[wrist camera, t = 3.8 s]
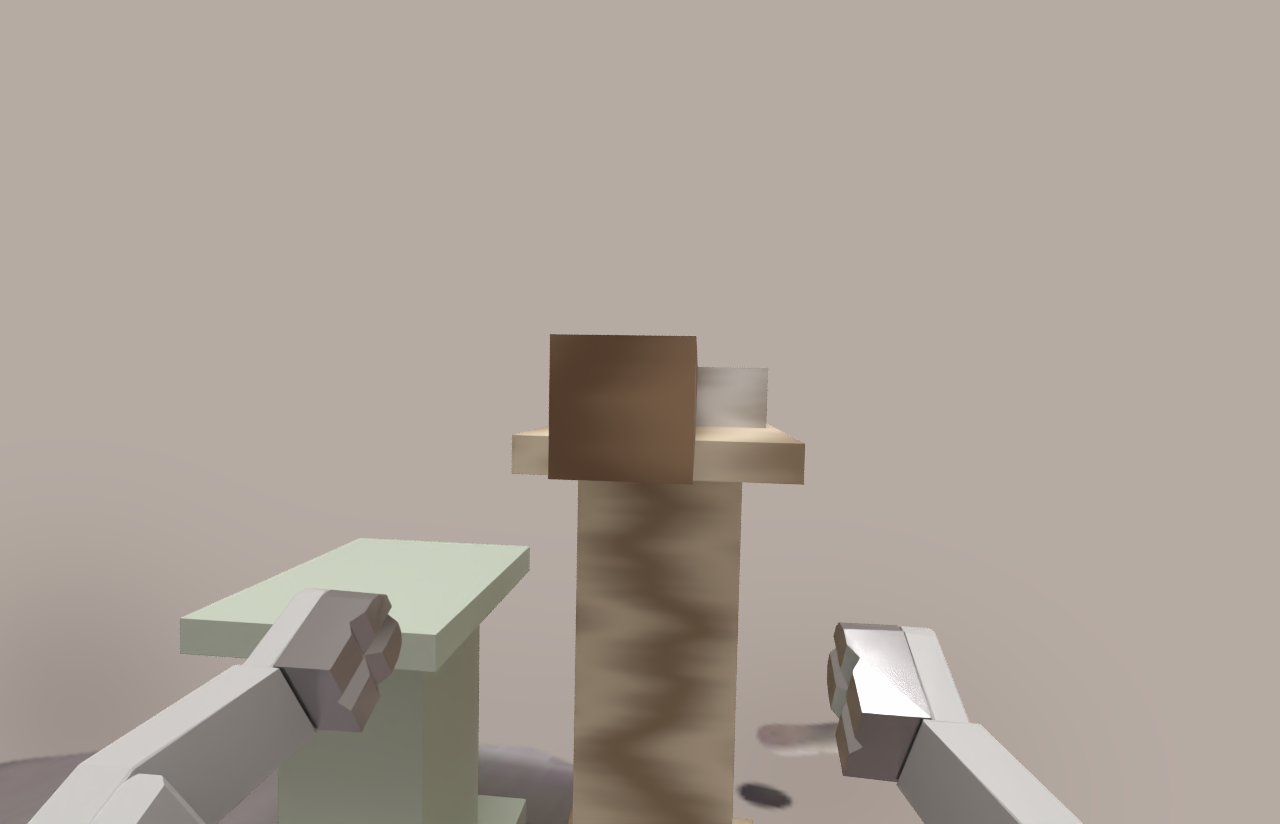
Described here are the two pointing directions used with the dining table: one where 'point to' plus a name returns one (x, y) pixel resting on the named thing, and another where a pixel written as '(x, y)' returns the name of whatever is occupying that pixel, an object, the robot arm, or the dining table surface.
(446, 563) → the pedestal low
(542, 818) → the dining table surface
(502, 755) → the dining table surface
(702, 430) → the pedestal tall
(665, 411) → the mallet
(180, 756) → the robot arm
